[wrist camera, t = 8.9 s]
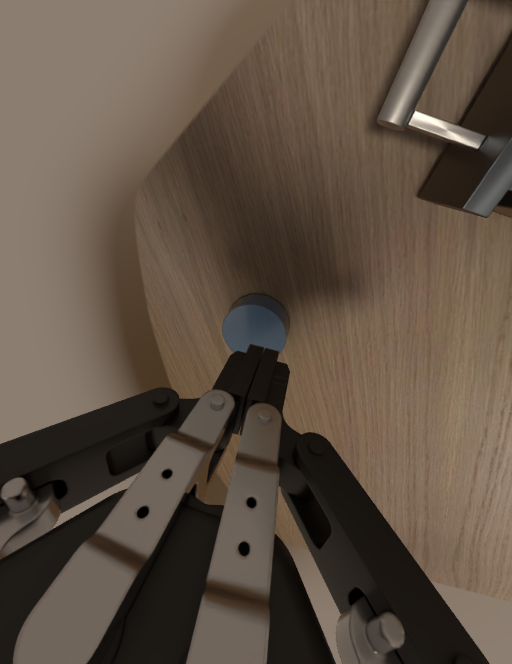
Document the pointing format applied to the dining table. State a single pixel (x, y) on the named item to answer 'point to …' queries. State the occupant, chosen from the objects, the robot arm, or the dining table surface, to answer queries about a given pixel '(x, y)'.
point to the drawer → (466, 140)
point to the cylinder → (256, 324)
